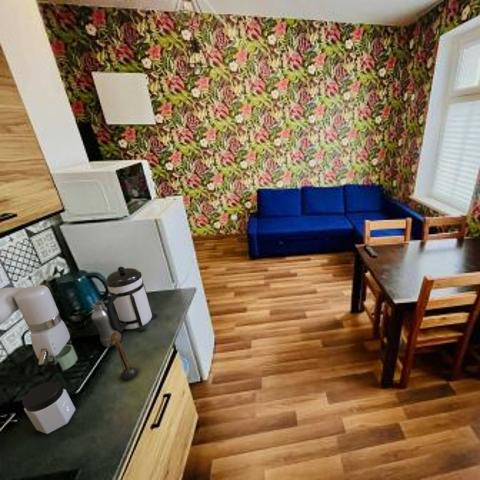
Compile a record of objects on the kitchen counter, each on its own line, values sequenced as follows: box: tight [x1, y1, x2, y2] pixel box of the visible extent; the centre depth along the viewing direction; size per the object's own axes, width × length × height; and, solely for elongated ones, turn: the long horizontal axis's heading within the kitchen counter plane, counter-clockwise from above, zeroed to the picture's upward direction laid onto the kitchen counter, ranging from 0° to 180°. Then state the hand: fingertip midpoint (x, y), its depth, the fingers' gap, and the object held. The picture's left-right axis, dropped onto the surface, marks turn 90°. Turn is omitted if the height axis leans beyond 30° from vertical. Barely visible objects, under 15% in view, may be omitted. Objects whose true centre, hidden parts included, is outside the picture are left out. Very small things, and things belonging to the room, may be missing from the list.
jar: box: [21, 380, 76, 435], centre depth 80 cm, size 9×8×12 cm
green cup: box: [48, 344, 78, 372], centre depth 92 cm, size 7×7×6 cm
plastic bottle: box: [91, 300, 119, 348], centre depth 108 cm, size 6×7×20 cm
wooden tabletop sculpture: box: [110, 331, 138, 382], centre depth 93 cm, size 6×5×20 cm
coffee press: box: [104, 266, 157, 333], centre depth 116 cm, size 17×16×30 cm
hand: (63, 362), depth 93 cm, fingers closed on green cup, 7 cm apart
